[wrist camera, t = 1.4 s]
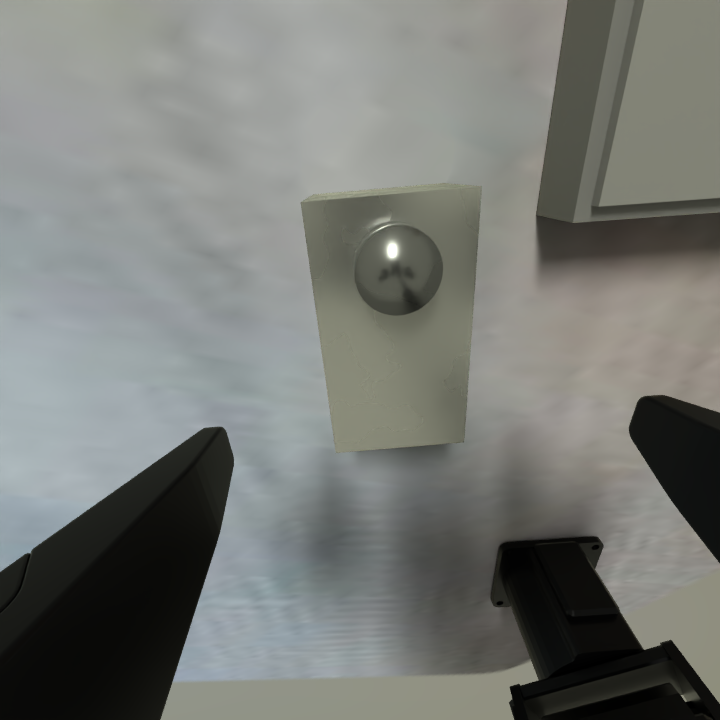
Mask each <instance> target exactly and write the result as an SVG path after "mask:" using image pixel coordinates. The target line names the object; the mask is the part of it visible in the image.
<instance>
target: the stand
mask: <svg viewBox="0 0 720 720" xmlns="http://www.w3.org/2000/svg"><path fill="white" fill-rule="evenodd" d="M718 212H720V0H568V6H567V13H566V20H565V27H564V33H563V40H562V47H561V53H560V60H559V67H558V73H557V80H556V87H555V94H554V100H553V107H552V114H551V120H550V127H549V134H548V141H547V147H546V154H545V161H544V167H543V174H542V181H541V187H540V194H539V201H538V208H537V214H536V215H538V216H543V217H547V218H552V219H557V220H561V221H566V222H571V223H579V222H593V221H607V220H621V219H635V218H648V217H662V216H676V215H690V214H704V213H718Z"/></svg>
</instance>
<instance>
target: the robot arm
mask: <svg viewBox="0 0 720 720" xmlns="http://www.w3.org/2000/svg"><path fill="white" fill-rule="evenodd" d="M629 434H630V437H631V439H632V440H633V442H634V444H635V445H636V447H637V448H638V450H639V451H640V453H641V455H642V456H643V458H644V459H645V461H646V462H647V464H648V465H649V467H650V469H651V470H652V472H653V473H654V475H655V476H656V478H657V479H658V481H659V483H660V484H661V486H662V487H663V489H664V490H665V492H666V493H667V495H668V496H669V498H670V499H671V501H672V502H673V503H674V505H675V506H676V507H677V509H678V510H679V512H680V513H681V514H682V515H683V517H684V518H685V519H686V521H687V522H688V523H689V524H690V526H691V527H692V528H693V530H694V531H695V532H696V533H697V535H698V536H699V537H700V539H701V540H702V541H703V542H704V544H705V545H706V546H707V548H708V549H709V550H710V551H711V553H712V554H713V555H714V557H715V558H716V559H717V560H718V562H719V563H720V413H719V412H716V411H713V410H709V409H706V408H703V407H700V406H697V405H694V404H691V403H688V402H684V401H681V400H678V399H675V398H672V397H669V396H665V395H653V396H644V397H641V398H640V399H639V400H638V402H637V405H636V408H635V411H634V414H633V416H632V419H631V422H630V425H629ZM233 467H234V457H233V453H232V449H231V446H230V443H229V439H228V436H227V433H226V430H225V429H224V428H223V427H209V428H203V429H202V430H200V431H199V432H197V433H196V434H195V435H193V436H192V437H190V438H189V439H188V440H186V441H185V442H183V443H182V444H180V445H179V446H178V447H176V448H175V449H173V450H172V451H171V452H169V453H168V454H166V455H165V456H164V457H162V458H161V459H159V460H158V461H156V462H155V463H154V464H152V465H151V466H149V467H148V468H147V469H145V470H144V471H142V472H141V473H139V474H138V475H137V476H135V477H134V478H132V479H131V480H130V481H128V482H127V483H125V484H124V485H123V486H121V487H120V488H118V489H117V490H115V491H114V492H113V493H111V494H110V495H108V496H107V497H106V498H104V499H103V500H101V501H100V502H98V503H97V504H96V505H94V506H93V507H91V508H90V509H89V510H87V511H86V512H84V513H83V514H82V515H80V516H79V517H77V518H76V519H74V520H73V521H72V522H70V523H69V524H67V525H66V526H65V527H63V528H62V529H60V530H59V531H57V532H56V533H55V534H53V535H52V536H50V537H49V538H48V539H46V540H45V541H43V542H42V543H41V544H39V545H38V546H36V547H35V548H34V549H32V551H31V554H30V553H27V554H25V555H23V556H22V557H21V558H19V559H18V560H16V561H15V562H14V563H12V564H11V565H9V566H8V567H7V568H5V569H4V570H2V571H1V572H0V720H160V719H161V716H162V712H163V709H164V706H165V704H166V700H167V697H168V694H169V691H170V688H171V685H172V682H173V679H174V675H175V672H176V669H177V666H178V663H179V660H180V657H181V654H182V650H183V647H184V644H185V641H186V638H187V635H188V632H189V629H190V625H191V622H192V619H193V616H194V613H195V610H196V607H197V604H198V601H199V597H200V594H201V591H202V588H203V585H204V582H205V579H206V576H207V572H208V569H209V566H210V563H211V560H212V557H213V554H214V551H215V547H216V544H217V541H218V537H219V534H220V530H221V526H222V521H223V516H224V511H225V506H226V501H227V497H228V492H229V487H230V482H231V477H232V472H233ZM602 549H603V544H602V542H601V541H600V539H599V538H598V537H581V538H567V539H553V540H539V541H525V542H511V543H505V544H503V545H501V546H500V549H499V554H498V560H497V566H496V572H495V577H494V583H493V589H492V594H491V600H492V603H493V606H495V607H509V606H511V608H512V611H513V613H514V616H515V619H516V621H517V624H518V627H519V629H520V632H521V635H522V637H523V640H524V642H525V645H526V648H527V650H528V653H529V656H530V658H531V661H532V664H533V666H534V669H535V671H536V674H537V677H538V679H539V681H536V682H532V683H529V684H525V685H522V686H520V684H517V685H514V686H510V690H511V694H512V700H511V701H510V702H509V704H510V707H511V710H512V714H513V716H514V720H720V704H719V702H718V701H717V700H716V699H715V697H714V696H713V695H712V693H711V692H710V691H709V689H708V688H707V687H706V685H705V684H704V683H703V681H702V680H701V679H700V677H699V676H698V675H697V673H696V672H695V671H694V669H693V668H692V667H691V665H690V664H689V663H688V662H687V660H686V659H685V657H684V656H683V655H682V653H681V652H680V651H679V650H678V648H677V647H676V646H675V644H674V643H673V642H672V640H669V641H665V642H662V643H660V644H661V645H660V646H657V647H653V648H650V649H646V650H644V649H643V648H642V646H641V644H640V643H639V641H638V640H637V638H636V637H635V635H634V634H633V632H632V630H631V629H630V627H629V625H628V624H627V622H626V620H625V619H624V617H623V616H622V614H621V612H620V610H619V607H618V606H617V604H616V602H615V601H614V599H613V598H612V596H611V594H610V593H609V591H608V590H607V588H606V586H605V585H604V583H603V582H602V580H601V578H600V577H599V575H598V574H597V572H596V570H595V568H596V565H597V562H598V560H599V557H600V554H601V552H602ZM681 695H684V697H685V698H686V700H687V701H688V702H685V701H684V700H683V698H682V697H681Z"/></svg>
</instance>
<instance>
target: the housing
mask: <svg viewBox="0 0 720 720" xmlns="http://www.w3.org/2000/svg"><path fill="white" fill-rule="evenodd" d="M481 191H482V186H472V185H460V184H449V183H439V184H428V185H416V186H405V187H393V188H382V189H371V190H359V191H348V192H336V193H325V194H313V195H312V196H310V197H308V198H307V199H305V200H303V201H302V202H301V208H302V215H303V222H304V229H305V236H306V243H307V250H308V257H309V264H310V272H311V279H312V286H313V293H314V300H315V307H316V314H317V321H318V328H319V336H320V343H321V350H322V357H323V364H324V371H325V378H326V385H327V393H328V400H329V407H330V414H331V421H332V428H333V435H334V442H335V449H336V453H341V452H353V451H365V450H377V449H389V448H401V447H413V446H425V445H437V444H449V443H461V442H464V436H465V421H466V407H467V392H468V378H469V364H470V349H471V335H472V320H473V306H474V291H475V277H476V263H477V248H478V234H479V219H480V205H481Z"/></svg>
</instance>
